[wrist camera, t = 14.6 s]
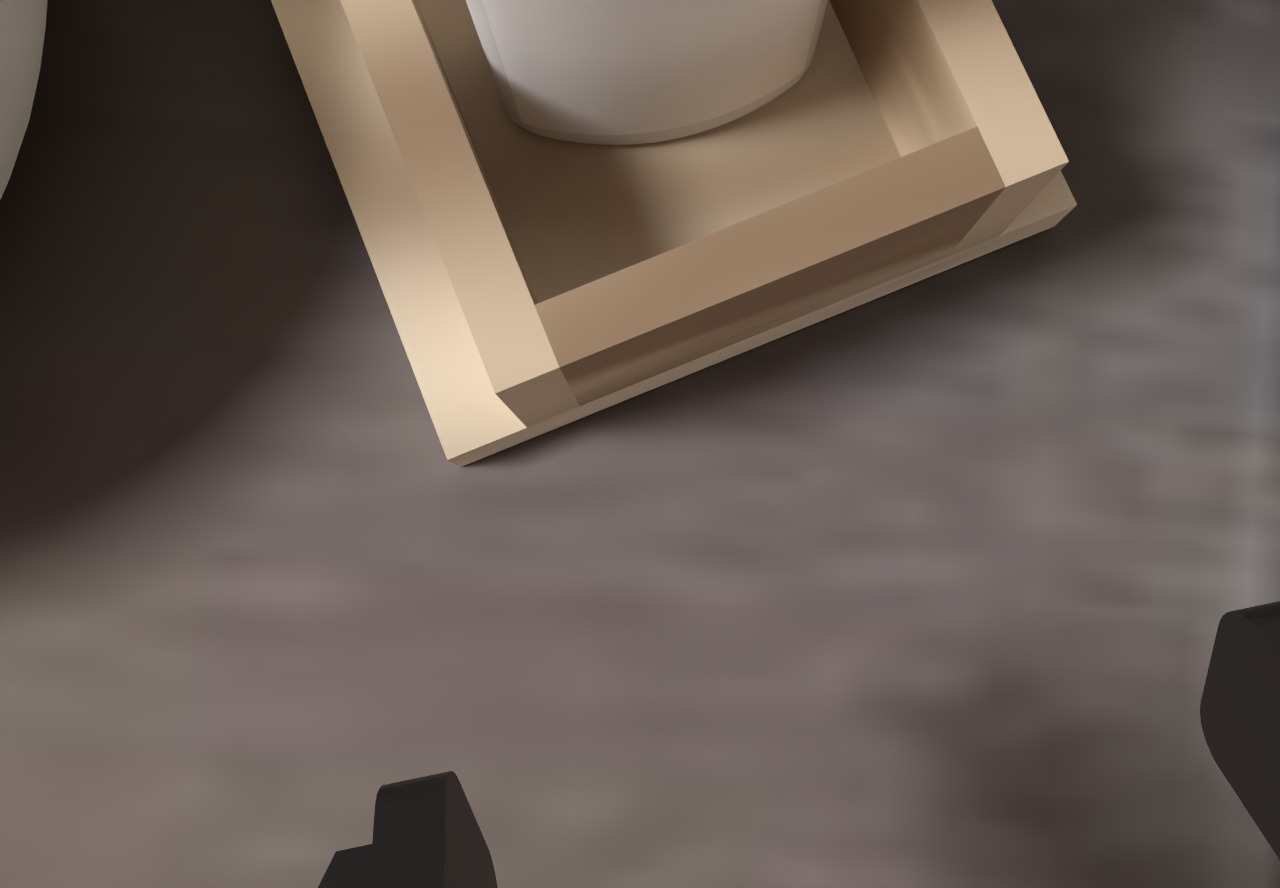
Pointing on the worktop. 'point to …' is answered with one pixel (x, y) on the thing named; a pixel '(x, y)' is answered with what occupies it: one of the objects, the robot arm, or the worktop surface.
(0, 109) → the serving bowl
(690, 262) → the divided storage tray
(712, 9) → the eye dropper bottle
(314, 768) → the worktop surface
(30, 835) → the worktop surface
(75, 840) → the worktop surface
